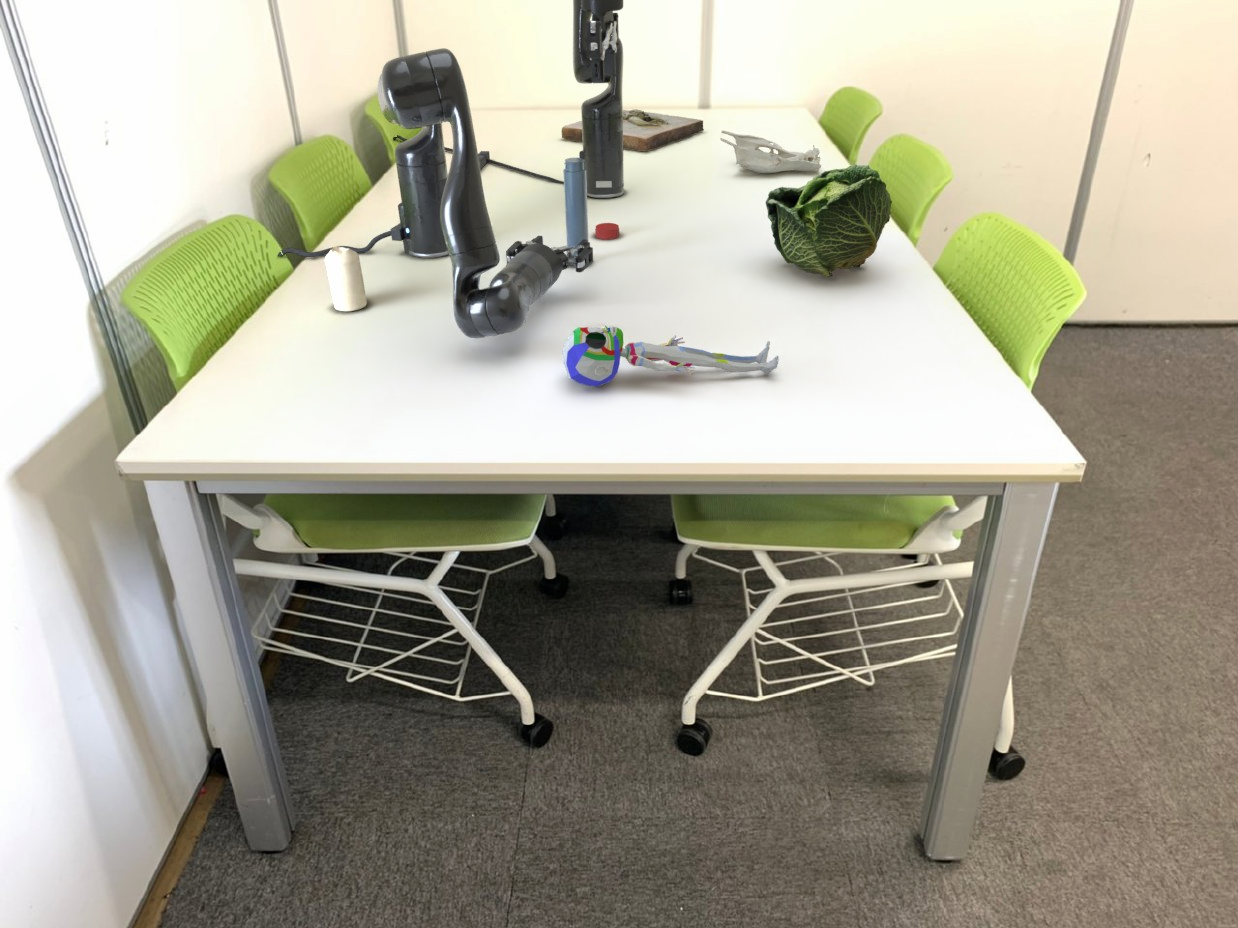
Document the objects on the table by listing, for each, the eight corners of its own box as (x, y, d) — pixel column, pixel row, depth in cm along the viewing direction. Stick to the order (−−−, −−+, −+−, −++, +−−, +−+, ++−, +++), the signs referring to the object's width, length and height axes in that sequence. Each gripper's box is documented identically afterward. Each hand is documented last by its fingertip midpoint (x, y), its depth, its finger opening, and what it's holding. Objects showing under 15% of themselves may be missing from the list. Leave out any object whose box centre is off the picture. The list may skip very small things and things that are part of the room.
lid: (614, 231, 186) (614, 221, 185) (622, 238, 182) (622, 228, 181) (592, 234, 184) (591, 224, 183) (600, 241, 180) (600, 231, 179)
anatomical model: (722, 127, 227) (822, 125, 223) (721, 164, 232) (819, 163, 228) (719, 141, 215) (824, 139, 211) (718, 179, 220) (821, 179, 216)
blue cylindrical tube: (566, 267, 168) (561, 162, 158) (569, 259, 171) (564, 157, 161) (588, 267, 167) (584, 162, 157) (590, 260, 171) (586, 157, 161)
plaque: (647, 125, 237) (559, 112, 252) (647, 153, 241) (560, 139, 256) (706, 107, 258) (622, 97, 273) (705, 133, 262) (622, 121, 277)
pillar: (489, 151, 236) (469, 170, 219) (489, 159, 237) (470, 179, 220) (481, 151, 236) (460, 170, 220) (481, 159, 237) (461, 179, 221)
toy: (785, 354, 123) (568, 337, 118) (772, 408, 127) (562, 393, 123) (768, 325, 132) (564, 307, 127) (755, 376, 136) (559, 361, 131)
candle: (373, 301, 154) (363, 244, 149) (355, 313, 150) (344, 255, 145) (346, 297, 156) (335, 241, 150) (327, 309, 151) (316, 252, 146)
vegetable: (790, 294, 172) (743, 202, 165) (870, 239, 174) (827, 145, 166) (841, 308, 154) (791, 205, 146) (931, 246, 155) (886, 140, 148)
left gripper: (570, 255, 142) (601, 224, 156) (488, 248, 146) (524, 219, 159) (572, 299, 146) (602, 266, 160) (492, 291, 150) (527, 260, 163)
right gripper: (591, -23, 165) (594, 72, 174) (570, -17, 153) (574, 85, 162) (631, -23, 163) (632, 73, 172) (612, -17, 152) (614, 86, 160)
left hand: (563, 243), depth 159 cm, fingers open, 8 cm apart
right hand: (604, 78), depth 167 cm, fingers open, 8 cm apart
